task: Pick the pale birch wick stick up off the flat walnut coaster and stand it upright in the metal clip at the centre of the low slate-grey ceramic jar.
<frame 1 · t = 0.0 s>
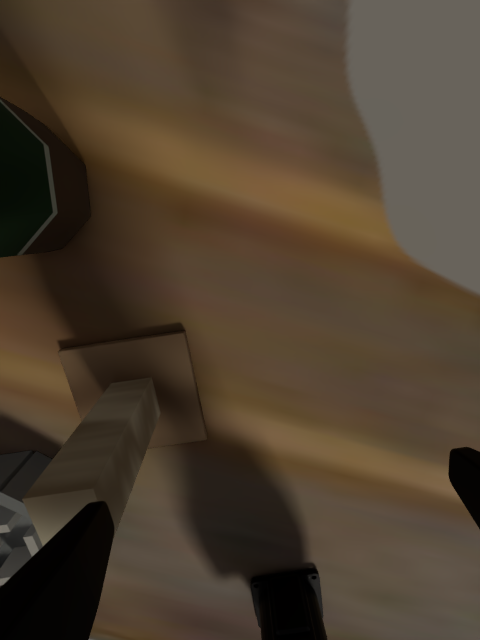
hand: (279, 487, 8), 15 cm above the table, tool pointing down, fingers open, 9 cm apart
coaster: (138, 394, 23), on the table
wick: (136, 398, 23), point 1 cm above the table, touching coaster
jar: (28, 516, 26), on the table
beer bottle: (35, 190, 19), on the table
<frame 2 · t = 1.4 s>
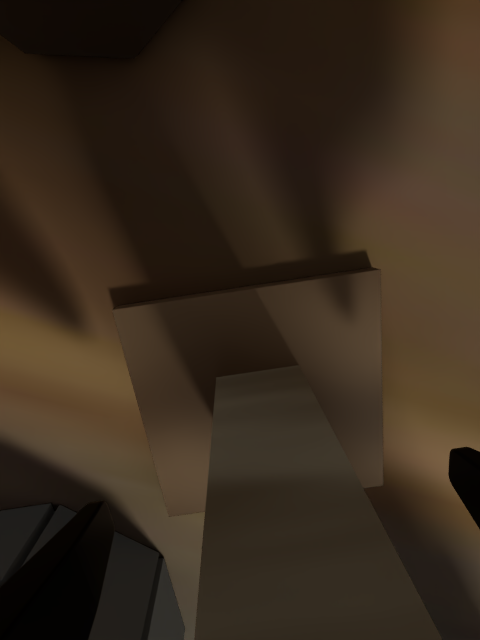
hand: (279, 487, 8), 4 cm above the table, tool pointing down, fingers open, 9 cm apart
coaster: (261, 398, 12), on the table
wick: (262, 407, 11), point 1 cm above the table, touching coaster
jar: (43, 614, 15), on the table
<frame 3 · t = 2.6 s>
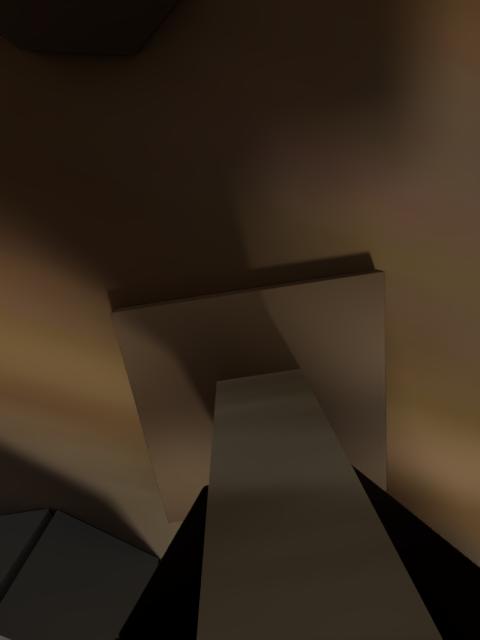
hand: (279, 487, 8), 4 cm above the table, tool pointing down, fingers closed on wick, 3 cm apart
coaster: (262, 402, 12), on the table
wick: (263, 411, 11), point 1 cm above the table, touching coaster, gripper
jar: (41, 620, 15), on the table
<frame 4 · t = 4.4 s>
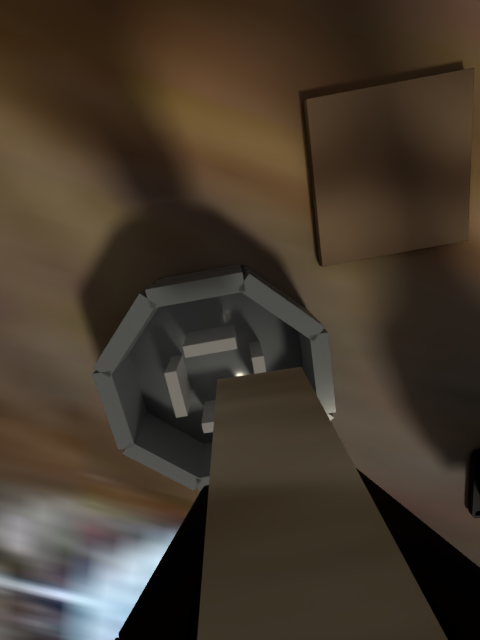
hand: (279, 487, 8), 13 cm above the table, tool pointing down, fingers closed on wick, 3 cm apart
coaster: (387, 176, 18), on the table
wick: (264, 409, 11), point 10 cm above the table, touching gripper
jar: (220, 364, 21), on the table
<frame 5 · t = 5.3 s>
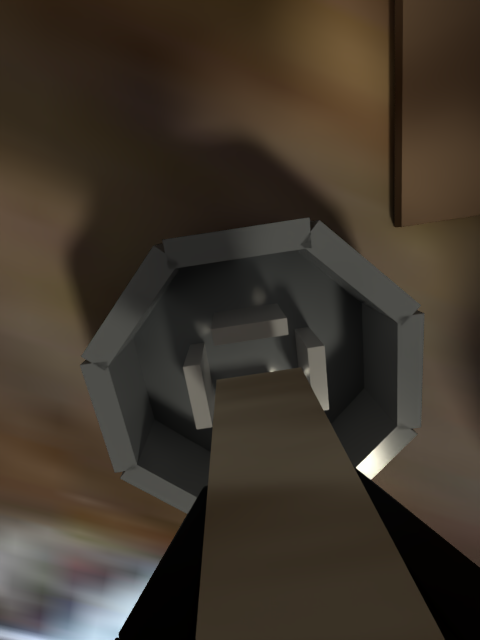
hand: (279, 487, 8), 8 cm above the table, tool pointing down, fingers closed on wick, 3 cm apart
wick: (263, 410, 11), point 5 cm above the table, touching gripper
jar: (252, 357, 16), on the table
when the fingers open (6 cm above the table, at t = 6.1 s): wick drops 1 cm, resting on jar.
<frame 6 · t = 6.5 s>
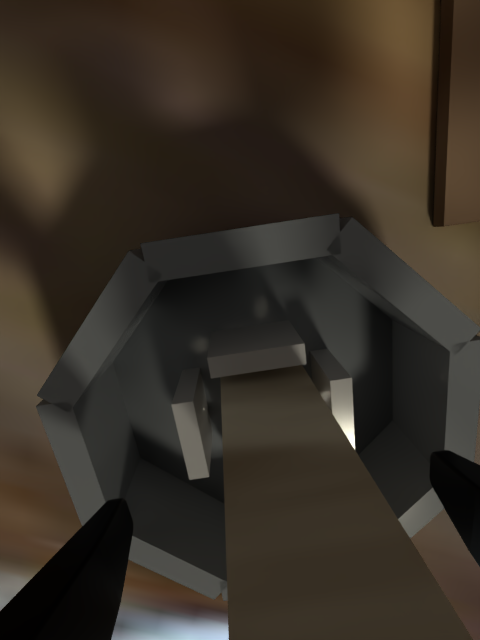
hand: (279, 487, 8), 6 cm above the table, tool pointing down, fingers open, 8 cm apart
wick: (261, 392, 12), point 1 cm above the table, touching jar
jar: (257, 383, 13), on the table
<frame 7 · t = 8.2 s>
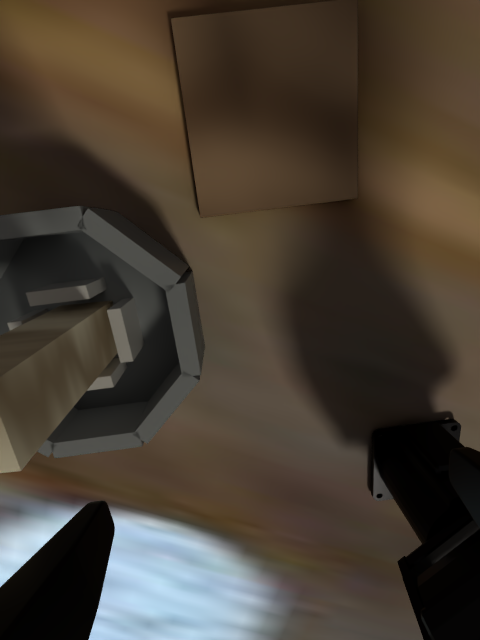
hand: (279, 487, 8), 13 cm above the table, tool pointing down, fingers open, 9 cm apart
coaster: (271, 120, 16), on the table
wick: (92, 326, 18), point 1 cm above the table, touching jar
jar: (96, 323, 19), on the table
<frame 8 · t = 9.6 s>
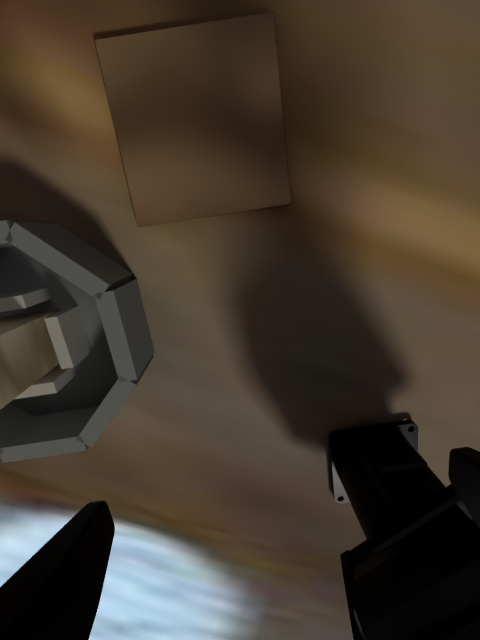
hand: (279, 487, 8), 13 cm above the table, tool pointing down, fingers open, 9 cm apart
coaster: (201, 131, 17), on the table
wick: (41, 334, 19), point 1 cm above the table, touching jar
jar: (47, 331, 20), on the table
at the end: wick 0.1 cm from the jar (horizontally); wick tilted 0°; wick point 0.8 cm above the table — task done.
